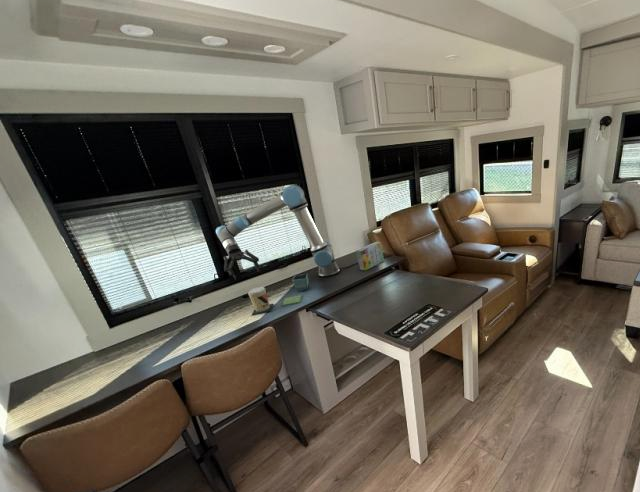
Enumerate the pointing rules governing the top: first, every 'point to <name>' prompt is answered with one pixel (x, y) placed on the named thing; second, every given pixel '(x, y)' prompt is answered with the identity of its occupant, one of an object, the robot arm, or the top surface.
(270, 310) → the slate mat
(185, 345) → the top surface
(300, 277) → the flower pot
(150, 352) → the top surface
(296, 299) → the sage mat
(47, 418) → the top surface
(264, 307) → the coffee cup
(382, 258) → the snack box
